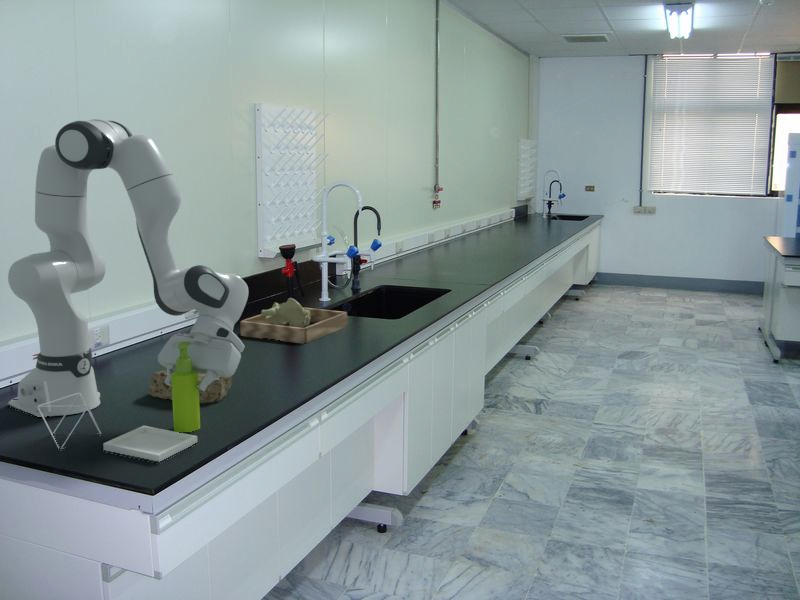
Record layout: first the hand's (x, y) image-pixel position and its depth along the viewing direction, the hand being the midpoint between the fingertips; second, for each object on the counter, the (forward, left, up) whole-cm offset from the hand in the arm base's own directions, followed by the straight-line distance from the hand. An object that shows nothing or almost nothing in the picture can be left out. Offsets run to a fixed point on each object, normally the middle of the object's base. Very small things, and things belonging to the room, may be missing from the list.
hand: (183, 387), depth 174 cm
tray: (+1, -12, -10) cm, 16 cm away
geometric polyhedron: (-18, -16, -10) cm, 26 cm away
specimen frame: (-30, +95, -10) cm, 100 cm away
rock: (-15, +21, -10) cm, 28 cm away
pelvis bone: (-33, +95, -10) cm, 101 cm away
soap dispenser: (0, +1, -10) cm, 10 cm away
